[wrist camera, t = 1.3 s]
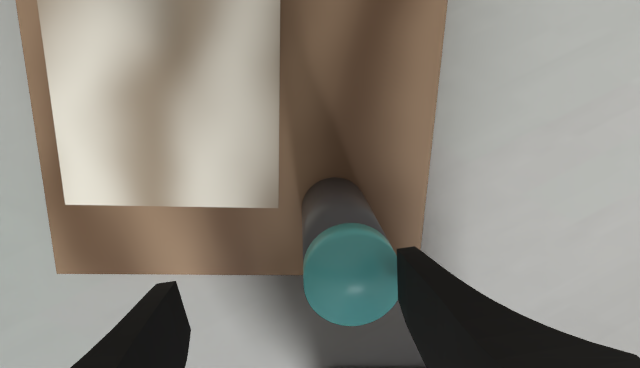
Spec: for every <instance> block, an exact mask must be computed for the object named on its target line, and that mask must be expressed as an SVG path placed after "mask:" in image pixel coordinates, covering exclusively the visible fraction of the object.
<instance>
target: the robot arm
mask: <svg viewBox="0 0 640 368" xmlns="http://www.w3.org/2000/svg"><path fill="white" fill-rule="evenodd" d="M397 285H398V300H399V303H400V307H401V310H402V313H403V316H404V319H405V322H406V325H407V327H408V329H409V331H410V333H411V336H412V338H413V340H414V342H415V344H416V346H417V348H418V350H419V352H420V354H421V357H422V359H423V361H424V363H425V365H426V367H427V368H640V358H639V357H638V356H637V355H634V354H631V353H627V352H624V351H620V350H617V349H613V348H610V347H606V346H603V345H599V344H596V343H593V342H589V341H586V340H584V339H581V338H578V337H575V336H572V335H569V334H566V333H564V332H561V331H558V330H556V329H553V328H551V327H548V326H546V325H543V324H541V323H539V322H536V321H534V320H532V319H529V318H527V317H525V316H523V315H521V314H519V313H516V312H514V311H512V310H511V309H509V308H507V307H505V306H503V305H501V304H499V303H497V302H495V301H493V300H492V299H490V298H488V297H486V296H485V295H483V294H481V293H480V292H478V291H477V290H475V289H473V288H472V287H470V286H469V285H467V284H466V283H464V282H463V281H461V280H460V279H458V278H457V277H455V276H454V275H452V274H451V273H450V272H448V271H447V270H445V269H444V268H443V267H441V266H440V265H439V264H437V263H436V262H435V261H433V260H432V259H431V258H430V257H428V256H427V255H426V254H424V253H423V252H422V251H420V250H419V249H418V248H416V247H415V246H413V247H406V248H399V249H397ZM190 332H191V329H190V326H189V322H188V319H187V316H186V313H185V309H184V306H183V303H182V299H181V296H180V293H179V290H178V286H177V283H176V281H173V282H166V283H159V284H156V285H155V286H154V287H153V288H152V289H151V290H150V291H149V292H148V293H147V294H146V295H145V296H144V297H143V298H142V299H141V300H140V301H139V302H138V303H137V304H136V305H135V306H134V308H133V309H132V310H131V311H130V312H129V313H128V314H127V315H126V316H125V317H124V318H123V319H122V320H121V321H120V322H119V323H118V324H117V325H116V326H115V327H114V328H113V329H112V330H111V331H110V332H109V333H108V334H107V335H106V336H105V337H104V338H103V339H102V340H100V341H99V342H98V343H97V344H96V345H95V346H94V347H93V348H92V349H91V350H90V351H89V352H88V353H87V354H86V355H84V356H83V357H82V358H81V359H80V360H79V361H78V362H76V363H75V364H74V365H73V366H72V367H71V368H185V365H186V361H187V355H188V348H189V341H190Z"/></svg>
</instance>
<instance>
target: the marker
mask: <svg viewBox="0 0 640 368" xmlns="http://www.w3.org/2000/svg"><path fill="white" fill-rule="evenodd" d="M302 240H303V282H304V292H305V295H306V298H307V300H308V302H309V304H310V306H311V307H312V309H313V310H314V311H315V312H316V313H317V314H318V315H320V316H321V317H322V318H324V319H326V320H327V321H330V322H332V323H335V324H338V325H343V326H359V325H364V324H367V323H370V322H373V321H375V320H377V319H379V318H381V317H382V316H383V315H385V314H386V313H387V312H388V311H389V310H390V309H391V308H392V307H393V306H394V305H395V303H396V302H397V300H398V285H397V256H396V254H395V252H394V250H393V248H392V246H391V245H390V243H389V241H388V239H387V237H386V235H385V233H384V232H383V230H382V228H381V226H380V224H379V222H378V221H377V219H376V217H375V215H374V213H373V211H372V210H371V208H370V206H369V204H368V202H367V200H366V199H365V197H364V195H363V193H362V192H361V190H360V189H359V188H358V187H357V186H356V185H355V184H354V183H352V182H351V181H349V180H347V179H344V178H338V177H331V178H326V179H323V180H321V181H318V182H317V183H315V184H314V185H313V186H312V187H311V188H310V189H309V190H308V191H307V193H306V194H305V196H304V199H303V202H302Z"/></svg>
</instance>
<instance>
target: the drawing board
mask: <svg viewBox="0 0 640 368" xmlns="http://www.w3.org/2000/svg"><path fill="white" fill-rule="evenodd" d="M447 2H448V0H16V6H17V13H18V20H19V26H20V33H21V40H22V46H23V53H24V59H25V66H26V73H27V79H28V86H29V93H30V99H31V106H32V112H33V119H34V126H35V132H36V139H37V146H38V152H39V159H40V165H41V172H42V179H43V185H44V192H45V199H46V205H47V212H48V218H49V225H50V232H51V238H52V245H53V252H54V258H55V265H56V271H57V274H194V275H303V240H302V202H303V199H304V196H305V194H306V193H307V191H308V190H309V189H310V188H311V187H312V186H313V185H314V184H315V183H317V182H318V181H321V180H323V179H326V178H331V177H338V178H344V179H347V180H349V181H351V182H352V183H354V184H355V185H356V186H357V187H358V188H359V189H360V190H361V192H362V193H363V195H364V197H365V199H366V200H367V202H368V204H369V206H370V208H371V210H372V211H373V213H374V215H375V217H376V219H377V221H378V222H379V224H380V226H381V228H382V230H383V232H384V233H385V235H386V237H387V239H388V241H389V243H390V245H391V246H392V248H393V250H394V252H395V254H396V256H397V249H399V248H406V247H413V246H415V247H416V248H418V249H419V250H420V248H421V239H422V230H423V221H424V211H425V202H426V193H427V184H428V175H429V166H430V157H431V148H432V139H433V129H434V120H435V111H436V102H437V93H438V84H439V75H440V66H441V57H442V48H443V38H444V29H445V20H446V11H447Z"/></svg>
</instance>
